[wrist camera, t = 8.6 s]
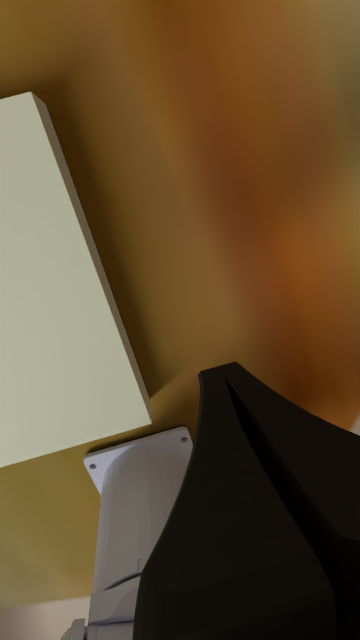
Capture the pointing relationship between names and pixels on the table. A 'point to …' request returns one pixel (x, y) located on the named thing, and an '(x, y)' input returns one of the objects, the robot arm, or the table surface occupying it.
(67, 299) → the deck
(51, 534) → the table surface
